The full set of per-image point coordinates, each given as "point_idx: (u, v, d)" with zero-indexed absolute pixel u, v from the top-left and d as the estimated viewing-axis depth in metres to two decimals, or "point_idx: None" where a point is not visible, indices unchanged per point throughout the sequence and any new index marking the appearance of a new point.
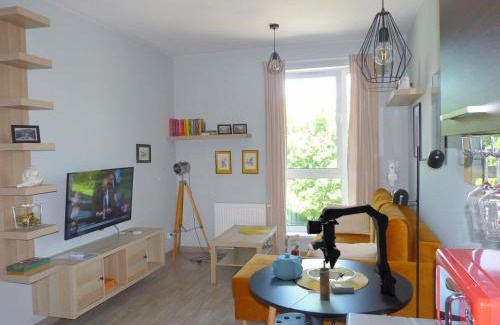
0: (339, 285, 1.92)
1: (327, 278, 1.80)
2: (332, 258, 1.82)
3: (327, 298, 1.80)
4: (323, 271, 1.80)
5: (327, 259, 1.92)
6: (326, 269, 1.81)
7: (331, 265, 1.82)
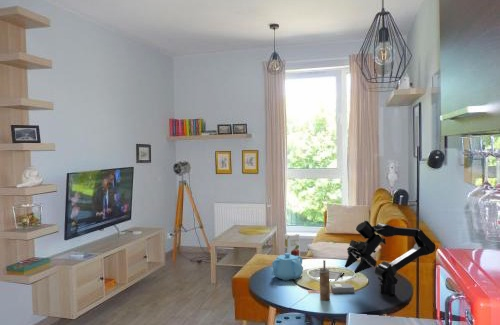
0: (339, 285, 1.92)
1: (327, 278, 1.80)
2: (363, 264, 1.80)
3: (327, 298, 1.80)
4: (323, 271, 1.80)
5: (348, 264, 1.89)
6: (326, 269, 1.81)
7: (357, 269, 1.80)
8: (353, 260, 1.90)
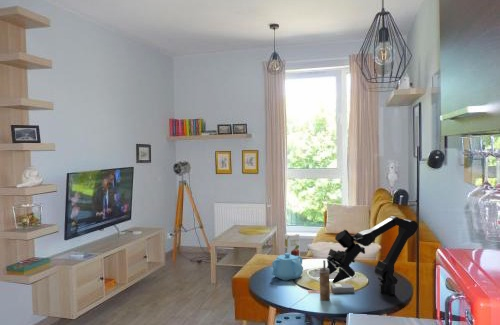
0: (339, 285, 1.92)
1: (327, 278, 1.80)
2: (341, 274, 1.77)
3: (327, 298, 1.80)
4: (323, 271, 1.80)
5: None
6: (326, 269, 1.81)
7: (336, 279, 1.77)
8: (332, 269, 1.88)
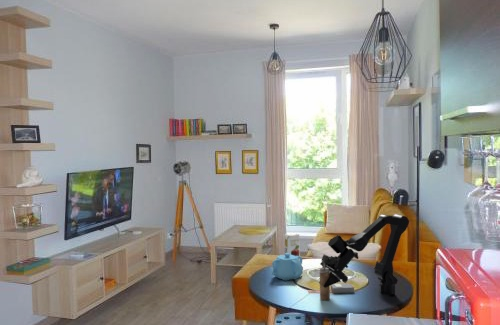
0: (339, 285, 1.92)
1: (327, 278, 1.80)
2: (332, 278, 1.79)
3: (327, 298, 1.80)
4: (323, 271, 1.80)
5: None
6: (326, 269, 1.81)
7: (327, 283, 1.79)
8: None
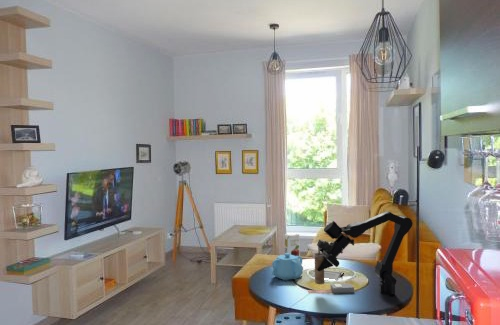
0: (339, 285, 1.92)
1: (321, 262, 1.86)
2: (326, 263, 1.84)
3: (321, 281, 1.86)
4: (317, 255, 1.86)
5: None
6: (320, 254, 1.87)
7: (320, 267, 1.85)
8: None
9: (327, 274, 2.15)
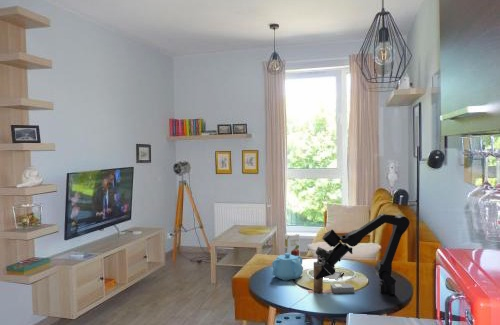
0: (339, 285, 1.92)
1: (319, 271, 1.90)
2: (324, 272, 1.86)
3: (319, 290, 1.90)
4: (315, 264, 1.90)
5: None
6: (319, 263, 1.91)
7: (318, 276, 1.86)
8: None
9: None
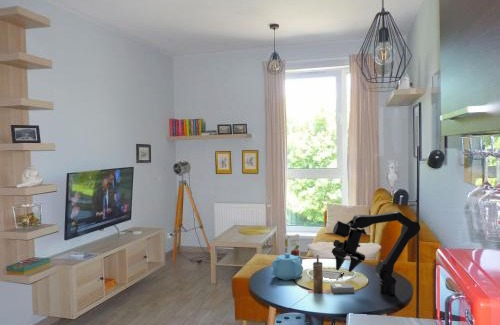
0: (339, 285, 1.92)
1: (319, 272, 1.90)
2: (339, 259, 1.86)
3: (319, 290, 1.90)
4: (315, 265, 1.90)
5: (350, 268, 1.92)
6: (319, 263, 1.91)
7: (336, 266, 1.86)
8: (354, 262, 1.91)
9: (327, 274, 2.15)
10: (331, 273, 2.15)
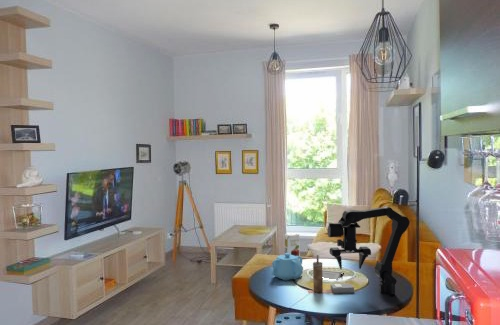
0: (339, 285, 1.92)
1: (319, 272, 1.90)
2: (338, 258, 1.88)
3: (319, 290, 1.90)
4: (315, 265, 1.90)
5: (359, 264, 1.88)
6: (319, 263, 1.91)
7: (339, 265, 1.88)
8: (360, 258, 1.88)
9: (327, 274, 2.15)
10: (331, 273, 2.15)
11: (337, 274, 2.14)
